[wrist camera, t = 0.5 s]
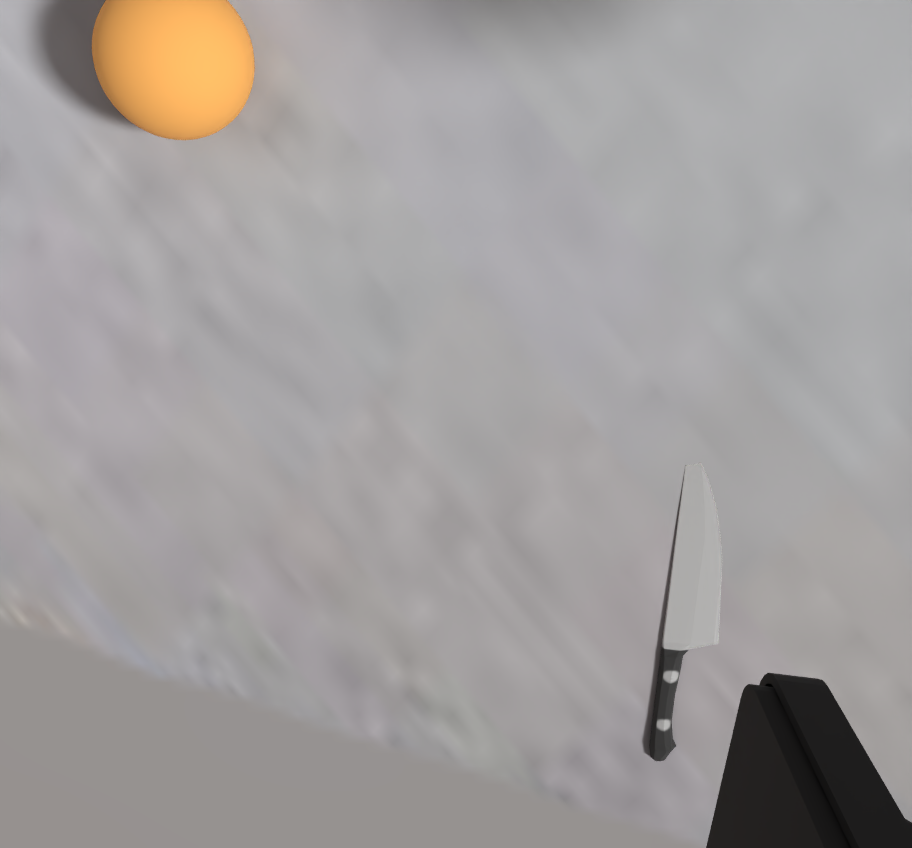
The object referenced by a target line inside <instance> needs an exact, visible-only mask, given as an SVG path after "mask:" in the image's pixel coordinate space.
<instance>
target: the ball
mask: <svg viewBox="0 0 912 848" xmlns="http://www.w3.org/2000/svg"><path fill="white" fill-rule="evenodd" d="M92 56H93V62H94V67H95V71H96V74H97V77H98V80H99V82H100V84H101V86H102V89H103V90H104V92H105V94H106V95H107V97H108V98H109V100H110V101H111V103H112V104H113V105H114V106H115V107H116V108H117V110H118V111H119V112H120V113H121V114H122V115H123V116H124V117H125V118H127V119H128V120H129V121H130V122H132V123H133V124H135V125H136V126H138V127H139V128H141V129H143V130H145V131H147V132H149V133H151V134H154V135H157V136H160V137H163V138H168V139H174V140H192V139H198V138H202V137H206V136H209V135H211V134H214V133H216V132H217V131H219V130H221V129H223V128H224V127H225V126H227V125H228V124H229V123H230V122H232V121H233V120H234V118H235V117H236V116H237V115H238V114H239V113H240V111H241V110H242V108H243V107H244V105H245V103H246V101H247V99H248V97H249V94H250V92H251V89H252V84H253V80H254V69H255V67H254V53H253V47H252V43H251V40H250V36H249V34H248V31H247V29H246V27H245V25H244V23H243V21H242V19H241V18H240V16H239V15H238V13H237V12H236V10H235V9H234V8H233V6H232V5H231V4H230V3H229V2H228V1H227V0H106V1H105V3H104V4H103V6H102V7H101V9H100V11H99V14H98V16H97V19H96V22H95V25H94V29H93V36H92Z"/></svg>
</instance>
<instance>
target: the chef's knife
mask: <svg viewBox="0 0 912 848" xmlns="http://www.w3.org/2000/svg"><path fill="white" fill-rule="evenodd" d="M721 577H722V549H721V536H720V528H719V521H718V514H717V507H716V503H715V500H714V496H713V493H712V489H711V486H710V483H709V480H708V477H707V475H706V472H705V470H704V468H703V466H702V464H701V462H700V463H698V464H693V465H686V466H685V473H684V480H683V487H682V494H681V501H680V508H679V515H678V523H677V530H676V538H675V545H674V553H673V560H672V568H671V576H670V583H669V591H668V599H667V607H666V614H665V622H664V630H663V637H662V649H661V658H660V666H659V674H658V682H657V691H656V699H655V707H654V715H653V723H652V731H651V740H650V755H651V757H652V758H653V759H654V760H655V761H663V760H665V759H666V757H667V756H668V755H669V753H670V752H671V751H672V750H673V749H674V748H675V747H676V745H675V742H674V740H673V736H672V713H673V705H674V698H675V692H676V688H677V683H678V679H679V675H680V670H681V664H682V658H683V655H684V654H685V653H686V652H687V651H688V650H690V649H695V648H699V647H704V646H709V645H714V644H718V643H719V621H720V599H721Z"/></svg>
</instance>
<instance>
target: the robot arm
mask: <svg viewBox="0 0 912 848" xmlns="http://www.w3.org/2000/svg"><path fill="white" fill-rule="evenodd" d="M706 848H912V823H911V822H910V821H908V820H906V819H905V818H904V817H903V815H902V813H901V811H900V810H899V808H898V806H897V805H896V803H895V801H894V799H893V798H892V796H891V794H890V793H889V791H888V789H887V787H886V786H885V784H884V782H883V781H882V779H881V777H880V775H879V774H878V772H877V770H876V768H875V767H874V765H873V763H872V762H871V760H870V758H869V756H868V755H867V753H866V751H865V750H864V748H863V746H862V744H861V743H860V741H859V739H858V738H857V736H856V734H855V732H854V731H853V729H852V727H851V726H850V724H849V722H848V720H847V719H846V717H845V715H844V713H843V712H842V710H841V708H840V707H839V705H838V703H837V701H836V700H835V698H834V696H833V695H832V693H831V691H830V689H829V688H828V686H827V685H826V684H825V682H824V681H823V680H820V679H815V678H807V677H798V676H790V675H782V674H774V673H767V674H766V675H764V677H763V678H762V680H761V682H760V685H752V684H748V685H747V686H746V687H745V688H744V690H743V693H742V696H741V700H740V704H739V709H738V713H737V717H736V722H735V726H734V730H733V735H732V739H731V743H730V748H729V752H728V756H727V760H726V765H725V769H724V773H723V778H722V782H721V786H720V791H719V795H718V799H717V804H716V808H715V812H714V817H713V821H712V825H711V830H710V834H709V838H708V842H707V847H706Z"/></svg>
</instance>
